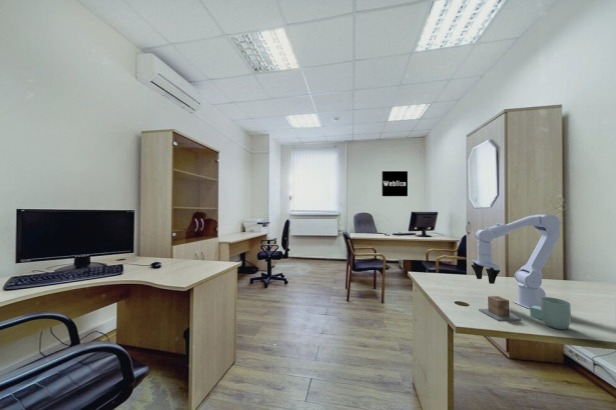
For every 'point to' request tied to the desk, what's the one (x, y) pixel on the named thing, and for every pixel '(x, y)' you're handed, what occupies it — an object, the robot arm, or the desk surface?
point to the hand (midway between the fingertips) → (485, 281)
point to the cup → (556, 312)
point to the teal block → (536, 312)
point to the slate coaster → (499, 318)
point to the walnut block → (498, 306)
